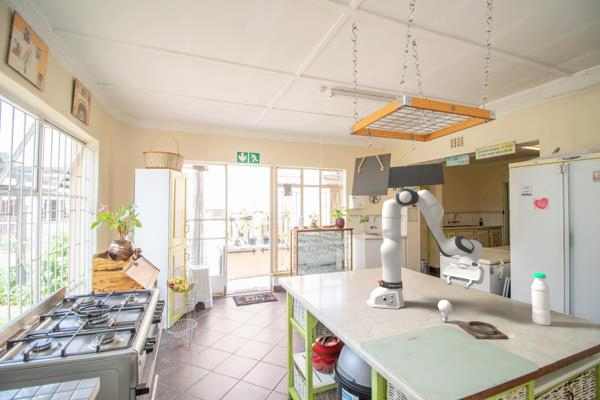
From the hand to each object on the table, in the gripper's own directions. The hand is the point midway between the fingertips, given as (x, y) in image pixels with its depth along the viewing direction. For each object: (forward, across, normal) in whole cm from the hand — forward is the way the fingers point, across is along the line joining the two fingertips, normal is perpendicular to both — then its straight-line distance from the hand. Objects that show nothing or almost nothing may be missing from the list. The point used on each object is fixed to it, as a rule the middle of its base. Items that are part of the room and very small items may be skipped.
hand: (457, 286), depth 150 cm
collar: (+17, +16, +4) cm, 24 cm away
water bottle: (-7, +27, +30) cm, 41 cm away
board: (+18, +16, +5) cm, 25 cm away
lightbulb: (+20, 0, +3) cm, 21 cm away
